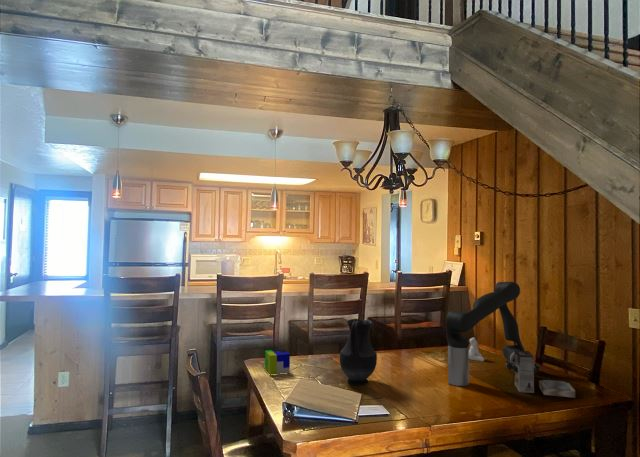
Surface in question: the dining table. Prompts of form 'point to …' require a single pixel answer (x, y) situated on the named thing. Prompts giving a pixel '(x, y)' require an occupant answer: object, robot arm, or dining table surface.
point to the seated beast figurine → (474, 351)
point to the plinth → (556, 388)
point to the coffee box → (524, 371)
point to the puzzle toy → (277, 361)
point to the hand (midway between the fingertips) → (525, 371)
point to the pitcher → (358, 353)
